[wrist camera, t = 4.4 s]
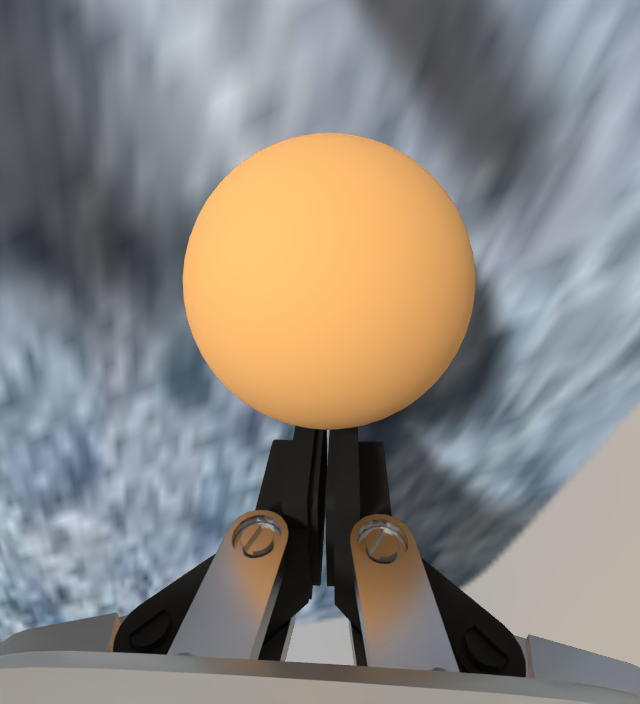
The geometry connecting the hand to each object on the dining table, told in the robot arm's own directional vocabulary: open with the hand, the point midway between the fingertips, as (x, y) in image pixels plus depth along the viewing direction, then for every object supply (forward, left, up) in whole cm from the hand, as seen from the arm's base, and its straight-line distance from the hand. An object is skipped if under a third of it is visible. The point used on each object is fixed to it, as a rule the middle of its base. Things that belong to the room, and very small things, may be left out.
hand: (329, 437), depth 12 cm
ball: (0, +5, +1) cm, 5 cm away
